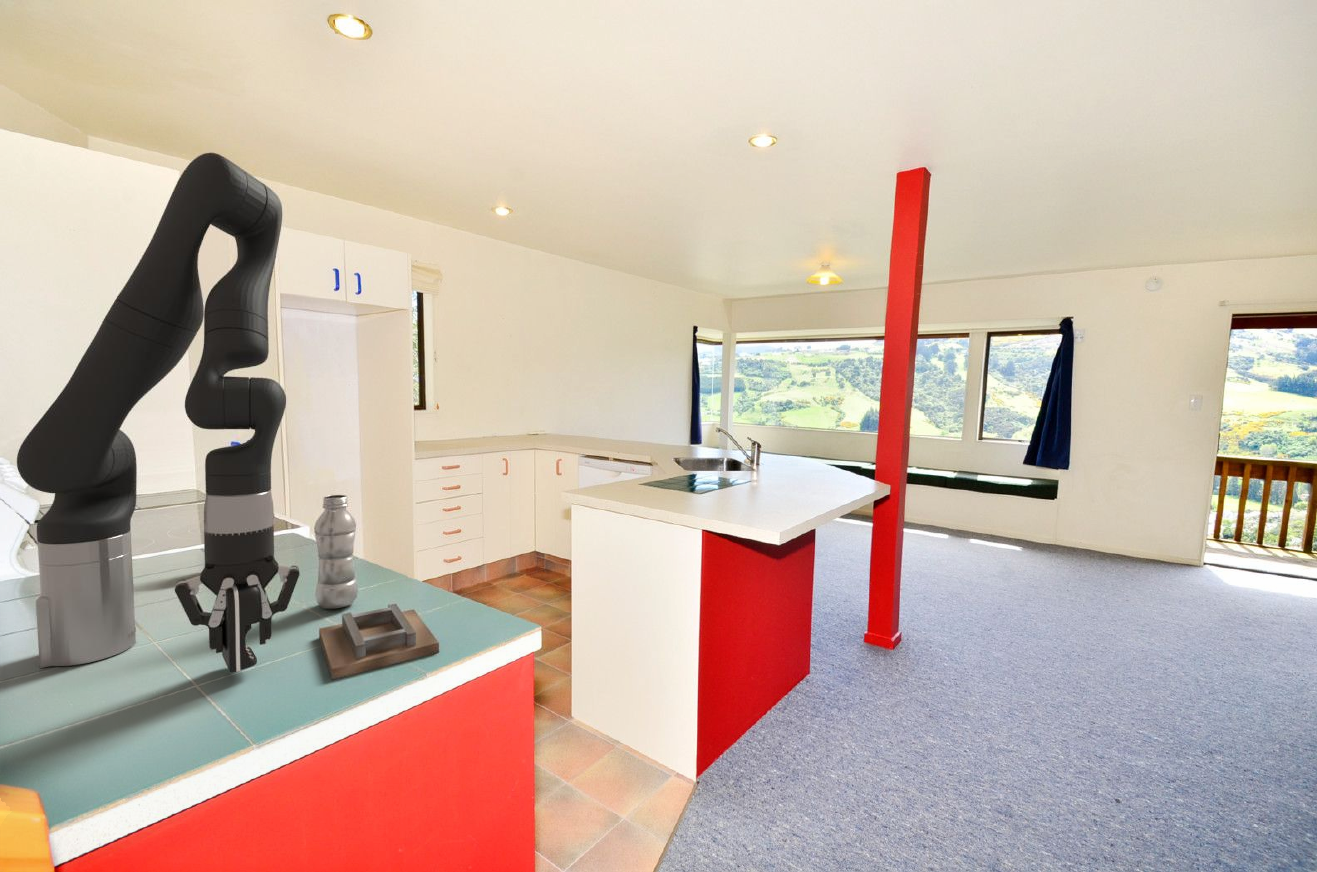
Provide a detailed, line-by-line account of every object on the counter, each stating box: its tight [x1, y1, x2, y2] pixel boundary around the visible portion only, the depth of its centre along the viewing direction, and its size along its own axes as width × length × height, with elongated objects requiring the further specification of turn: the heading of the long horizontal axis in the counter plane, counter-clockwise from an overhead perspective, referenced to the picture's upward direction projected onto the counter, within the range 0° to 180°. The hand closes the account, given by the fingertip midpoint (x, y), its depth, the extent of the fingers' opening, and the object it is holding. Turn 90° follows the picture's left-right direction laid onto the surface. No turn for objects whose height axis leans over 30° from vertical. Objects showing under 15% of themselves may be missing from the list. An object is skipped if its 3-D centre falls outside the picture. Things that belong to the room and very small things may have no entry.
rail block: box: [318, 603, 440, 680], centre depth 84 cm, size 14×15×4 cm
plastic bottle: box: [313, 494, 359, 610], centre depth 97 cm, size 6×7×20 cm
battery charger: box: [221, 583, 262, 673], centre depth 75 cm, size 7×4×11 cm, turn 46°
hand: (241, 645), depth 75 cm, fingers closed on battery charger, 4 cm apart
